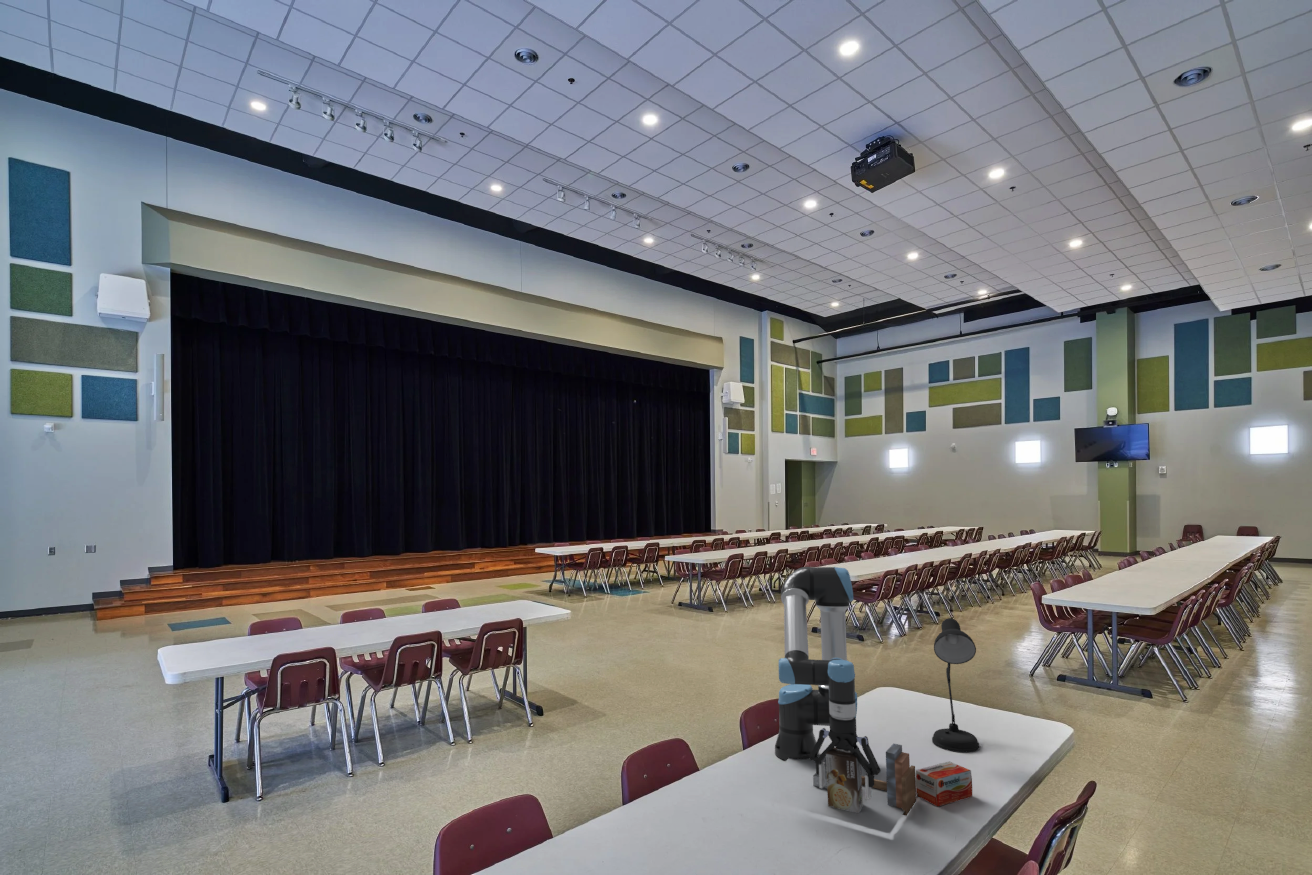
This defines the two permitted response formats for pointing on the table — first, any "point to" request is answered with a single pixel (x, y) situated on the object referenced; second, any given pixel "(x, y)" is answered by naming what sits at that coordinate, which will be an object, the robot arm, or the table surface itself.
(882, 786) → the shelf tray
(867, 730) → the table surface
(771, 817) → the table surface
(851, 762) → the coffee box
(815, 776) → the grey stepped block
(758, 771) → the table surface
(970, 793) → the medicine box
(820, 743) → the robot arm
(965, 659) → the desk lamp
